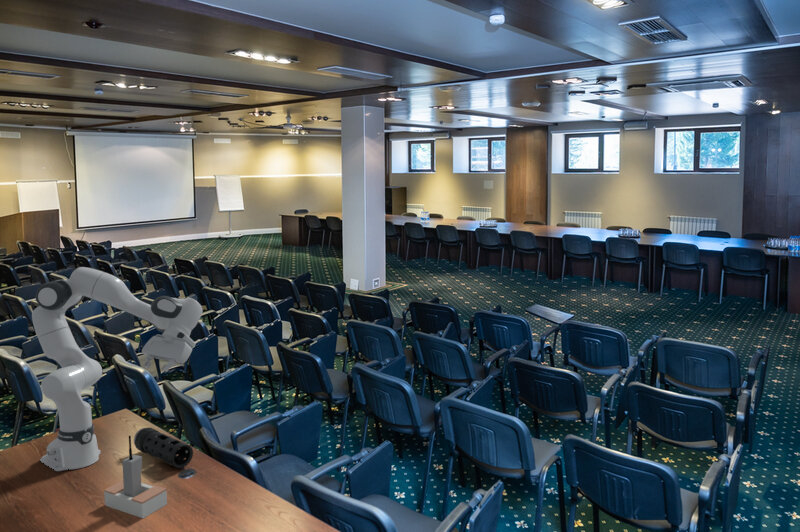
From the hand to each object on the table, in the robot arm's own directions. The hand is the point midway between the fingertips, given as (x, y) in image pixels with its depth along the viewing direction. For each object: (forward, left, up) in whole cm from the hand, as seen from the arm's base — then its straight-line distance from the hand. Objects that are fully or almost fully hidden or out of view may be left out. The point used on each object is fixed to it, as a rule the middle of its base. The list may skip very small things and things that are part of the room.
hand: (155, 368), depth 225 cm
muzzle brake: (-9, +9, -41) cm, 43 cm away
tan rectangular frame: (+10, -20, -41) cm, 46 cm away
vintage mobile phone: (+10, -20, -41) cm, 47 cm away
